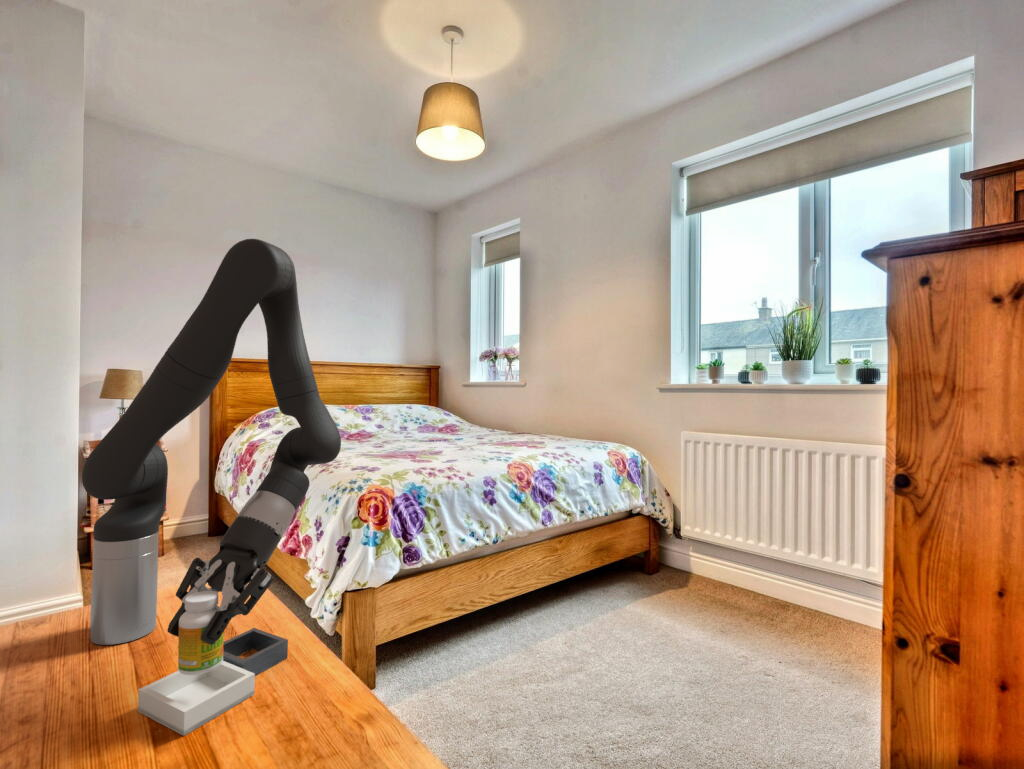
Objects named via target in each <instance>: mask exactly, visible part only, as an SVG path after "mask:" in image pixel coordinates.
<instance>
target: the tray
mask: <svg viewBox="0 0 1024 769" xmlns="http://www.w3.org/2000/svg"><path fill="white" fill-rule="evenodd" d="M255 681H256V676H255V673H252V672H250V671H247V670H245V669H242V668H240V667H237V666H235V665H233V664H230V663H228V662H225V661H222V663H221V664H220V665H219V666H218V667H217V668H215V669H214V670H212V671H209V672H207V673H203V674H199V675H184V674H181V673H180V672H179V670H176V671H175V672H172V673H170V674H168V675H166V676H164V677H162V678H160V679H158V680H156V681H154V682H151V683H150V684H147V685H145V686H142V687H141V688H138V700H137V702H138V703H137V704H138V705H137V707H138V708H137V712H138V713H140V714H142V715H144V716H146V717H148V718H149V719H151V720H152V721H155V722H157V723H158V724H160V725H162V726H165V727H166V728H168V729H170V730H171V731H173V732H176V733H177V734H179V735H181V736H183V737H184V736H187V735H189V733H191V732H194V730H196V729H198V728H200V727H202V726H203V725H205V724H207V723H209V722H211V721H212V720H214V719H215V718H217V717H219V716H221V715H222V714H224V713H225V712H227V711H229V710H230V709H233V708H234V707H236V706H237V705H239V704H240V703H241V704H242V702H244V701H246V700H248V699H249V698H251V697H252V696H254V695H255V685H256V682H255Z"/></svg>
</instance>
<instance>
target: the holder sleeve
mask: <svg viewBox="0 0 1024 769" xmlns="http://www.w3.org/2000/svg"><path fill="white" fill-rule="evenodd" d="M288 646H289V639H287V638H284V637H282V636H278V635H275V634H272V633H270V632H267V631H264V630H262V629H259V628H255V627H253V628H251V629H248V630H246V631H244V632H242V633H240V634H237V635H236V636H234V637H231V638H229V639H227V640H225V641H224V646H223V661H225V662H228V663H230V664H233V665H235V666H237V667H240V668H242V669H245V670H247V671H250V672H252V673H255V677H256V676H258V675H260V674H262V673H264V672H266V671H267V670H268V669H271V668H273V667H274V666H276V665H278V664H280V663H282V662H283V661H285V660H286V659H285V658H287V659H288V651H289V647H288ZM251 649H252V650H254V649H255V651H257V652H256V653H255V652H254V653H253V654H251V655H249V656H248V657H246V658H242V657H240V656H242V655H244V654H245V652H246V653H247V651H248V652H250V651H251ZM249 650H250V651H249ZM243 653H244V654H243ZM241 654H242V655H241ZM284 659H285V660H284ZM282 660H283V661H282ZM279 662H280V663H279Z"/></svg>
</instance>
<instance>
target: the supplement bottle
mask: <svg viewBox="0 0 1024 769" xmlns="http://www.w3.org/2000/svg"><path fill="white" fill-rule="evenodd" d="M185 610H186V612H185V613H183V614H182V615H181V617H180V619H179V637H178V649H177V650H178V653H177V654H178V657H177V658H178V659H177V660H178V661H177V663H178V664H177V666H178V668H177V669H178V670H177V671H179V672H180V673H181V674H184V675H199V674H203V673H207V672H209V671H212V670H214V669H215V668H217V667H218V666H219V665H220V664H221V663H222V661H223V646H224V642H225V641H224V638H225V635H224V632H223V634H222V635H221V637H220V638H219V639H218V640H217V641H216V642H215V643H214V644H213V645H210V644H207V643H205V642H204V641H202V640H201V635H202V634H203V632H204V630H205V629H206V627H207V625H208V624H209V622H210V621H211V619H212V617H213V616H214V614H215V613H216V611H219V612H220V605H219V592H218V593H217V592H216V591H201V592H196V593H193V594H191V595H189V596H187V597H186V598H185Z"/></svg>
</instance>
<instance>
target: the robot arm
mask: <svg viewBox="0 0 1024 769" xmlns="http://www.w3.org/2000/svg"><path fill="white" fill-rule="evenodd" d="M296 275H297V274H296V268H295V263H294V261H293V260H292V258H291V257H290V255H289V254H288V253H287V252H286V251H285V250H283V248H280V247H279V246H277V245H274V244H271V243H269V242H267V241H264V240H262V239H258V238H246V239H243V240H240V241H238V242H236V243H234V245H232V246H231V247H230V248H229V249H228V251H227V252H226V253H225V255H224V256H223V259H222V260H221V263H220V265H219V266H218V268H217V270H216V273H215V274H214V276H213V278H212V280H211V281H210V282H211V283H210V284H209V286H208V287H207V289H206V292H205V294H204V295H203V297H202V299H201V301H200V302H199V304H198V305H197V307H196V308H195V310H194V311H193V312H192V314H191V315H190V316H189V318H188V320H186V322H185V324H184V325H183V327H182V329H181V330H180V331H179V333H178V334H177V336H175V338H174V340H173V341H172V343H171V344H170V345H169V346H168V348H167V349H166V351H165V352H164V354H163V356H162V357H161V359H160V360H159V361H158V363H157V364H156V366H155V367H154V369H153V370H152V372H151V374H150V376H149V377H148V379H147V380H146V382H145V383H144V384H143V386H142V388H141V389H140V390H139V391H138V392H137V394H136V396H135V397H134V398H133V400H132V401H131V402H130V404H129V406H128V407H127V409H126V410H125V412H124V413H123V414H122V415H121V417H120V418H119V419H118V420H117V422H116V423H114V425H113V426H112V427H111V429H109V431H108V432H107V434H105V435H104V436H103V438H102V439H101V440H100V441H99V442H98V443H97V445H96V446H95V447H94V448H93V450H92V451H91V452H90V453H89V454H88V457H87V458H86V461H85V462H84V463H83V464H84V465H83V467H82V471H81V482H82V483H81V484H82V486H83V489H84V490H85V492H86V493H87V494H88V495H89V496H91V497H92V498H94V499H98V500H103V501H105V500H106V501H107V500H109V501H110V500H114V502H113V504H112V505H111V506H110V508H109V509H108V510H107V511H106V512H105V513H104V514H103V515H102V516H100V517H99V518H98V519H96V521H95V522H94V524H93V531H92V532H93V539H92V540H93V541H92V544H93V545H92V568H91V569H92V574H91V575H92V577H91V578H92V579H91V586H90V587H91V591H90V592H91V594H90V621H89V622H90V623H89V626H90V627H89V628H90V629H89V633H90V641H91V643H92V644H96V645H102V646H103V645H104V646H109V645H111V646H112V645H117V644H123V643H128V642H132V641H136V640H137V639H141V638H142V637H145V636H146V635H149V634H150V633H152V632H153V631H154V630H155V629H156V627H157V612H158V610H157V606H158V605H157V604H158V579H159V578H158V575H159V574H158V572H159V570H158V568H159V567H158V566H159V537H160V536H159V534H160V532H159V531H160V522H161V520H162V518H163V515H164V513H165V509H166V500H167V490H168V488H167V487H168V475H169V466H168V459H167V456H166V455H165V452H164V450H163V449H162V448H161V446H159V445H158V442H160V440H161V439H162V438H163V437H164V436H165V435H166V434H167V433H168V432H169V431H170V430H171V429H173V428H174V427H175V426H177V425H178V424H179V423H180V422H182V421H183V420H184V419H186V418H187V417H188V416H189V415H190V414H192V413H193V412H194V411H195V410H197V409H198V408H200V406H201V405H203V403H204V402H205V401H207V400H208V398H210V395H211V394H212V393H213V392H214V390H215V389H216V387H217V386H218V384H219V383H220V381H221V380H222V378H223V377H224V375H225V374H226V372H227V371H228V368H229V366H230V364H231V361H232V358H233V354H234V351H235V347H236V343H237V338H238V335H239V333H240V330H241V328H242V326H243V324H245V321H246V320H247V319H248V317H249V316H250V314H251V313H252V311H254V309H255V308H256V307H257V305H259V307H260V310H261V313H262V316H263V319H264V325H265V330H266V338H267V339H266V340H267V344H266V345H267V367H268V373H269V378H270V382H271V386H272V389H273V392H274V393H273V394H274V396H275V399H276V404H277V407H278V409H279V411H280V412H281V414H283V415H285V416H289V417H292V418H294V419H295V420H296V421H297V423H298V424H299V426H298V427H295V428H292V429H290V430H289V431H288V432H286V434H285V435H283V437H282V438H281V440H280V441H279V443H278V445H277V448H276V449H275V450H276V451H275V453H274V456H273V458H272V461H271V464H270V465H271V466H269V471H268V473H267V474H266V475H265V477H264V478H263V480H262V481H261V483H260V485H259V486H258V487H257V488H256V490H255V492H254V494H252V496H251V497H250V498H249V499H248V500H247V502H246V503H245V504H244V505H243V507H242V509H240V511H239V513H238V514H237V516H236V517H235V519H234V521H232V523H231V524H230V526H229V527H228V529H227V531H226V532H225V534H224V535H223V537H222V538H221V540H220V541H219V551H218V552H217V553H216V554H215V555H214V556H213V557H212V558H211V559H209V560H203V559H201V558H200V557H195V558H194V559H193V560H192V561H191V563H190V565H189V567H188V569H187V571H186V573H185V575H184V576H183V579H182V581H181V583H180V584H179V586H178V589H176V592H175V596H176V597H177V598H178V599H179V600H180V601H181V606H179V608H178V610H177V611H176V613H175V615H174V616H173V617H172V619H171V620H170V621H169V624H168V627H167V630H166V632H167V633H169V634H170V635H172V636H174V637H178V638H179V619H180V617H181V615H182V614H183V613H185V612H186V610H185V598H186V597H187V596H189V595H191V594H193V593H196V592H201V591H216V592H217V593H218V594H219V592H220V593H221V594H222V598H221V602H220V605H219V607H220V612H219V611H216V613H215V614H214V616H213V617H212V619H211V621H210V622H209V624H208V625H207V627H206V629H205V630H204V632H203V634H202V635H201V640H202V641H204V642H205V643H207V644H210V645H213V644H214V643H215V642H216V641H217V640H218V639H219V638H220V637H221V635H222V634H223V632H224V631H225V630H226V628H227V627H228V625H229V623H230V622H231V620H232V619H234V618H235V617H236V616H239V615H242V616H247V615H249V613H251V611H252V609H254V607H255V605H256V604H257V603H258V602H259V600H260V599H261V598H262V596H263V595H264V594H265V592H266V591H267V589H269V587H270V586H271V584H272V583H273V582H274V579H275V578H274V576H273V575H272V574H271V573H270V572H269V571H267V570H266V569H265V568H262V567H263V566H264V565H267V563H268V562H269V560H270V559H271V557H272V555H273V554H274V552H275V550H276V548H277V546H278V545H279V543H280V542H281V540H282V538H283V537H284V536H285V533H286V531H288V530H287V529H288V528H289V526H290V524H291V522H292V520H293V517H294V515H295V513H296V511H297V510H298V508H299V506H300V505H301V503H302V501H303V499H304V498H305V496H306V495H307V493H308V490H309V487H310V480H309V476H308V475H307V474H306V473H305V471H306V469H307V467H308V466H314V465H324V464H328V463H332V462H333V461H334V460H335V459H336V458H337V457H338V456H339V454H340V452H341V447H342V446H341V445H342V439H341V437H342V436H341V434H340V430H339V428H338V426H337V424H336V423H335V420H334V419H333V417H332V415H331V414H330V412H329V410H328V407H327V406H326V404H325V403H324V402H323V400H322V398H321V397H320V391H319V389H318V385H317V381H316V377H315V373H314V370H313V366H312V364H311V360H310V357H309V351H308V347H307V343H306V340H305V339H306V338H305V335H304V329H303V324H302V317H301V312H300V306H299V305H300V304H299V296H298V285H297V277H296ZM206 585H208V586H209V587H207V586H206ZM189 587H190V588H189Z"/></svg>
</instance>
